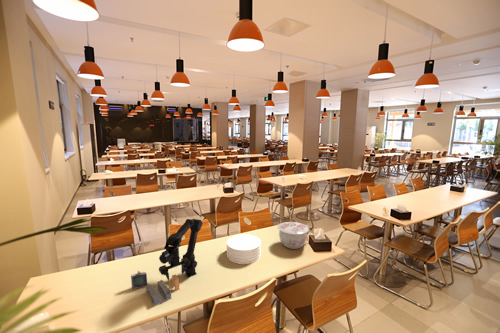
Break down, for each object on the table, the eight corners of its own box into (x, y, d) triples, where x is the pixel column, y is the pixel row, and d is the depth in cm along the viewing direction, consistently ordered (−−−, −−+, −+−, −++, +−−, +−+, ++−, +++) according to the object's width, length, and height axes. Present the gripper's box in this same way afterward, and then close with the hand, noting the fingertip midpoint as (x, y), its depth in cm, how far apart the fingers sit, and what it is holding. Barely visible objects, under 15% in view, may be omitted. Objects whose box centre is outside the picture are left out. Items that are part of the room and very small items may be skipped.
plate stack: (261, 264, 180) (261, 250, 178) (224, 263, 181) (224, 250, 179) (260, 246, 208) (260, 234, 206) (228, 246, 208) (228, 233, 207)
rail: (162, 285, 155) (162, 279, 155) (171, 298, 143) (171, 292, 142) (146, 291, 149) (146, 286, 148) (154, 306, 137) (154, 300, 136)
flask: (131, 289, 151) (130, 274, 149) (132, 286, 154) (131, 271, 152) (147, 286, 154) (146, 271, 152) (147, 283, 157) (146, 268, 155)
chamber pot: (274, 250, 201) (274, 227, 198) (279, 236, 227) (280, 216, 224) (307, 255, 193) (309, 231, 190) (309, 240, 219) (310, 219, 216)
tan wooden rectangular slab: (175, 284, 156) (175, 274, 155) (179, 289, 151) (179, 278, 150) (172, 286, 154) (171, 275, 153) (175, 290, 150) (175, 280, 149)
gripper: (183, 246, 161) (184, 266, 164) (155, 255, 150) (156, 277, 152) (190, 252, 153) (191, 274, 155) (161, 262, 141) (162, 286, 144)
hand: (175, 277), depth 152 cm, fingers open, 9 cm apart
